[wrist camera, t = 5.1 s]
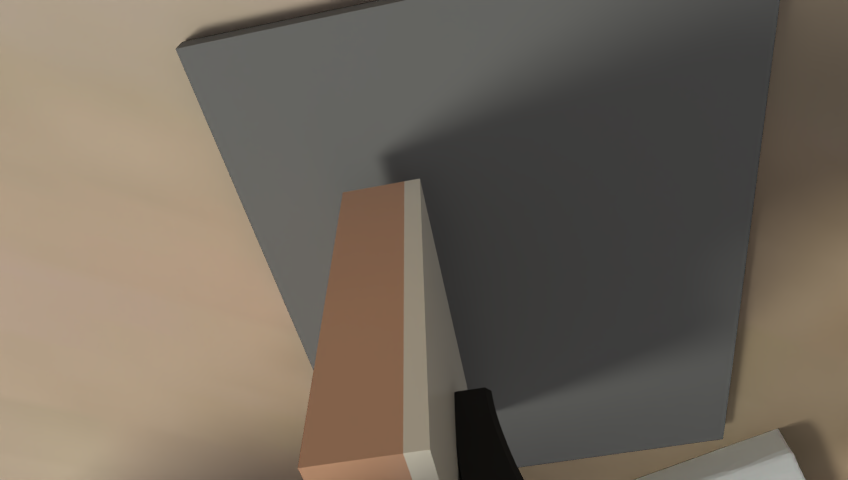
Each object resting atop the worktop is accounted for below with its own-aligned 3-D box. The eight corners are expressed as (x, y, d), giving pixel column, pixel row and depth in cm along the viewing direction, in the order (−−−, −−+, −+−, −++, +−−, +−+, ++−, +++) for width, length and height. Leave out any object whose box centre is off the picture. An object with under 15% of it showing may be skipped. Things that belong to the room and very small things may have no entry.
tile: (422, 447, 16) (430, 724, 11) (342, 192, 12) (297, 468, 7) (479, 439, 16) (510, 715, 11) (419, 178, 12) (430, 449, 7)
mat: (365, 476, 19) (364, 489, 19) (182, 42, 11) (175, 48, 11) (717, 427, 18) (723, 438, 18) (778, -85, 10) (790, -82, 10)
